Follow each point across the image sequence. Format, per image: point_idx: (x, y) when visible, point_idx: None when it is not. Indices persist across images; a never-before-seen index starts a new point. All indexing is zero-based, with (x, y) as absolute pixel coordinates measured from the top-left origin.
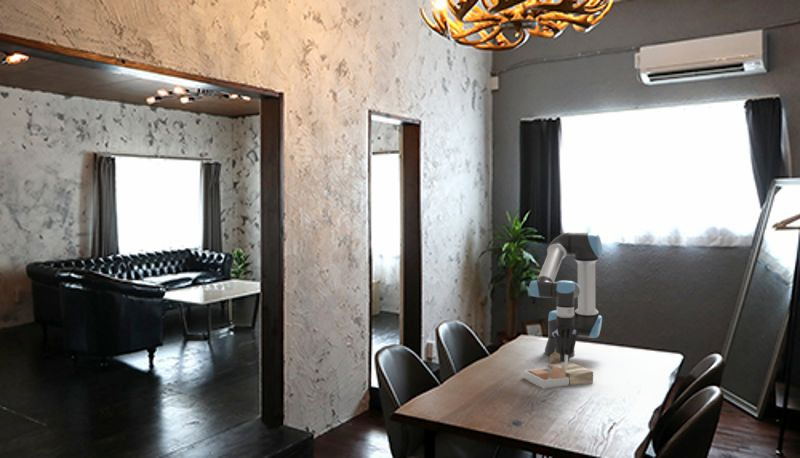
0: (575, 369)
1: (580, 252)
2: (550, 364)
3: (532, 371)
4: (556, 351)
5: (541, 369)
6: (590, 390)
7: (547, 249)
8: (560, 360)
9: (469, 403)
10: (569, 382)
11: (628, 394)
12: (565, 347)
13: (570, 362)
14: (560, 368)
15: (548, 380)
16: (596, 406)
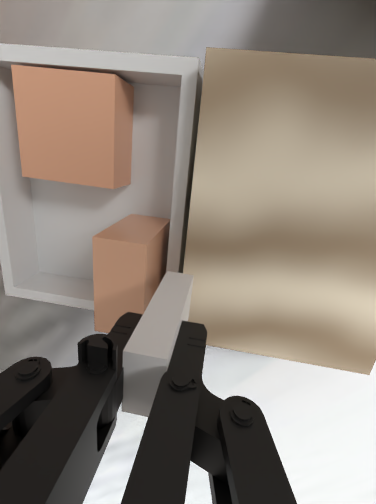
0: (300, 283)
1: None
2: (220, 51)
3: (18, 105)
4: (7, 378)
5: (111, 84)
6: (224, 387)
7: None
8: (119, 321)
9: None
10: None
11: (326, 482)
12: (134, 475)
13: None
14: (139, 291)
15: (38, 299)
16: (116, 479)
